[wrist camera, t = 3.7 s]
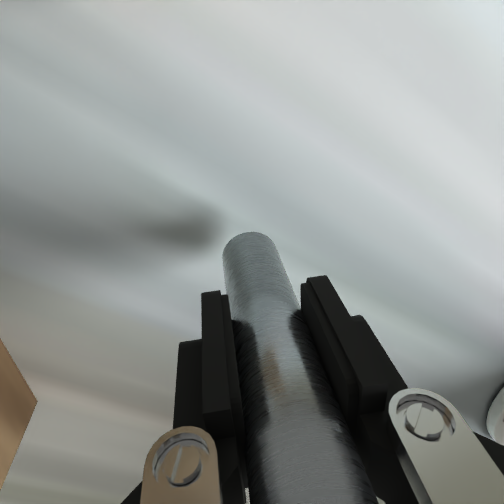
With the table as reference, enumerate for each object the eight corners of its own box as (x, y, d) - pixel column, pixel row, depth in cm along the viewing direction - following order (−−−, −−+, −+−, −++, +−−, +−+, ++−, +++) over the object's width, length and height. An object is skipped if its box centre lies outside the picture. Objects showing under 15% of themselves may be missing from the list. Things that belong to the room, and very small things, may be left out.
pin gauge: (275, 228, 14) (514, 765, 3) (278, 276, 15) (465, 795, 4) (218, 236, 14) (283, 824, 3) (225, 283, 15) (290, 839, 4)
